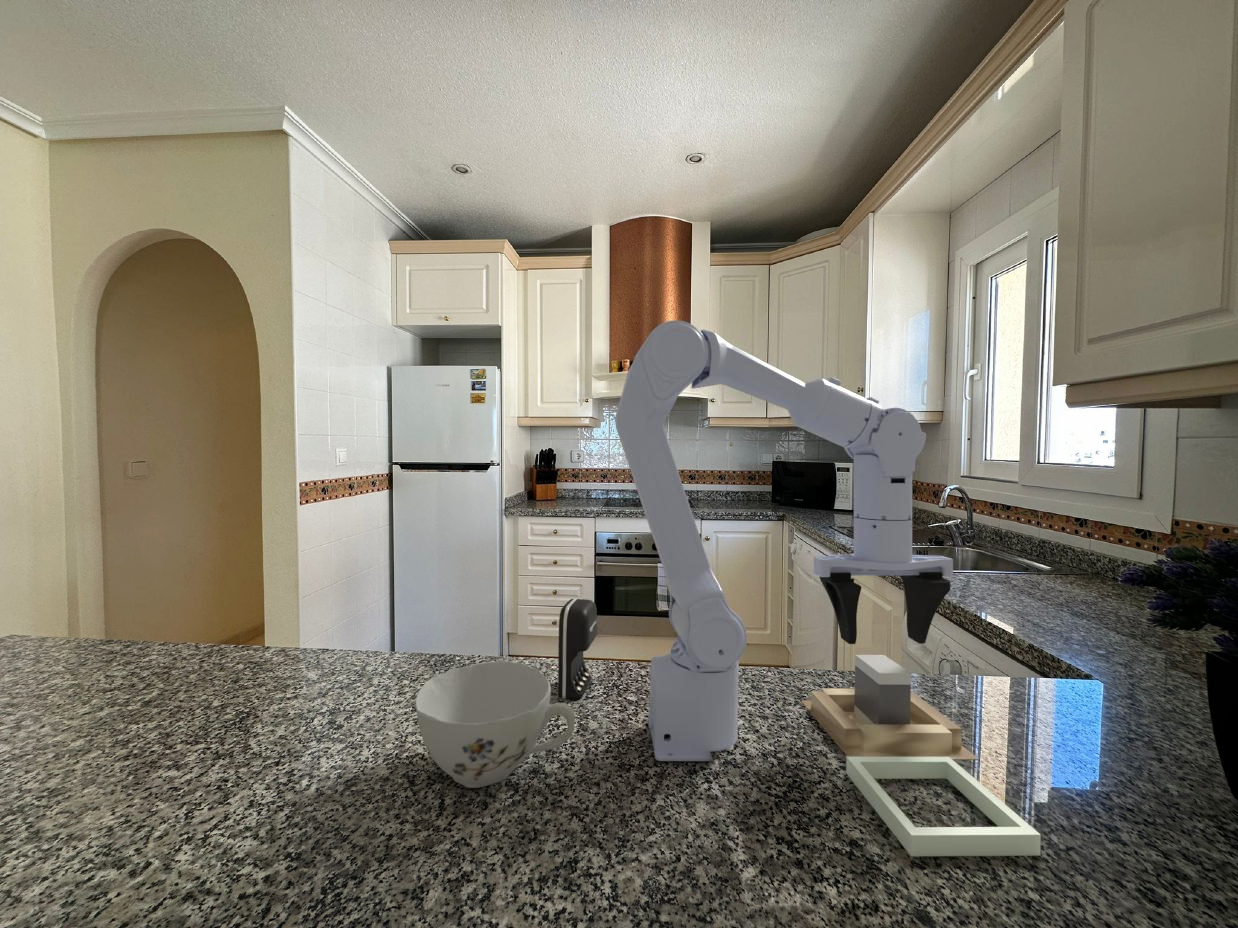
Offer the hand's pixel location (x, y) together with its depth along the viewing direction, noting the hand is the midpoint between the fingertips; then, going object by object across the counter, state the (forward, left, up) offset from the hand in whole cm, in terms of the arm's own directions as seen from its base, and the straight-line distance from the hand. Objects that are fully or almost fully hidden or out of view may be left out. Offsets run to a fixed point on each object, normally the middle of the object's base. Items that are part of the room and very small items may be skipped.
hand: (882, 640), depth 55 cm
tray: (-3, -13, -11) cm, 17 cm away
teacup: (-41, -6, -11) cm, 43 cm away
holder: (0, 0, -11) cm, 11 cm away
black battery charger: (-34, +11, -11) cm, 37 cm away
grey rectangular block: (0, 0, -10) cm, 10 cm away
